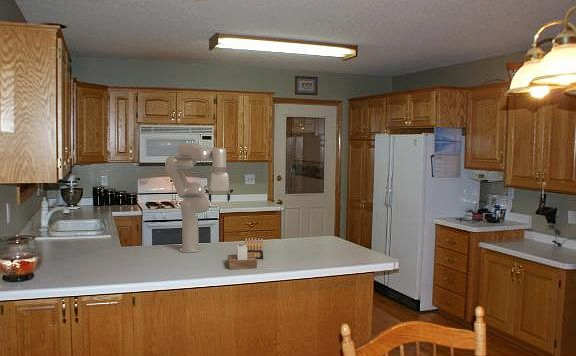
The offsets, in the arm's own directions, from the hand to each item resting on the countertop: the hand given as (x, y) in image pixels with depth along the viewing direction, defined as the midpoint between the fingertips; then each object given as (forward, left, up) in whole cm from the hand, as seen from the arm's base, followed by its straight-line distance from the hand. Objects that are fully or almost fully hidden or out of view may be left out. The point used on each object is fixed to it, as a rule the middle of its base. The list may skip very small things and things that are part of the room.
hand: (219, 201), depth 280 cm
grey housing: (+16, +11, -28) cm, 34 cm away
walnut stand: (+16, +11, -32) cm, 38 cm away
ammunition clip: (+2, +19, -33) cm, 38 cm away
